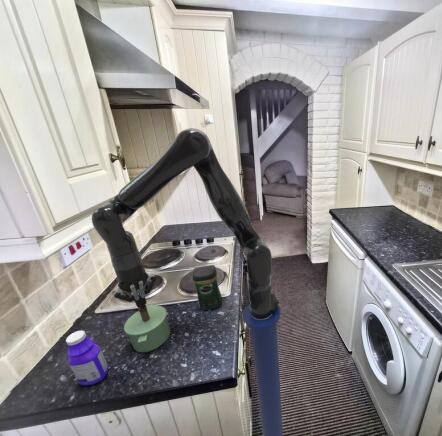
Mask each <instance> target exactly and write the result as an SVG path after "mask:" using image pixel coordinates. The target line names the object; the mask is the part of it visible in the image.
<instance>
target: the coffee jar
mask: <svg viewBox="0 0 442 436" xmlns="http://www.w3.org/2000/svg"><path fill="white" fill-rule="evenodd" d="M217 278H218V270H217V267H216V266H215V265H214V264H209V265H204V266H197V267H194V268H193V271H192V282H193V284H194V285H195V288H196V295H197V305H198V308H199V310H201V311H210V310H214V309H217V308H220V306H221V305H222V303H223V298H222V297H223V296H222V293H221V291H220V287H219V283H218V280H217Z"/></svg>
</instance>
